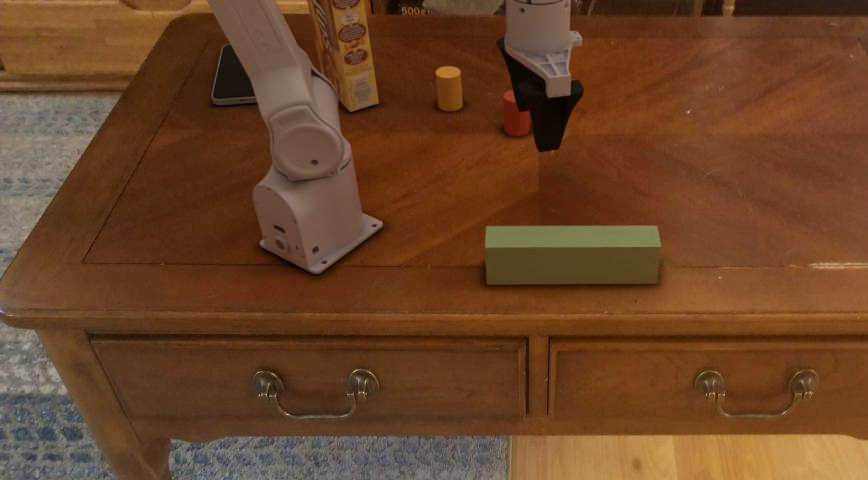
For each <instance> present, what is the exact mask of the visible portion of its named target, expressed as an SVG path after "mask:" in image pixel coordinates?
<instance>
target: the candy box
mask: <svg viewBox="0 0 868 480" xmlns="http://www.w3.org/2000/svg"><path fill="white" fill-rule="evenodd" d="M306 1H307V7H308V12H309V16H310V22H311V26H312V31H313V32H312V33H313V36H314V42H315V46H316V51H317V56H318V61H319V66H320V71H321V72H320V73H321V74H322V75H323V76H325V77H326V78H327V79H328V80H329V81H330V82H331V83H332V84H333V86H334V87H335V89H336V91H337V94H338V101H339V103H341V104H342V105H343V107H345V108H346V109H347V110H348V112H350V113H352V112H357V111H360V110H362V109H365V108H366V109H367V108H369V107H372V106H376V105H379V103H380V99H379V94H378V93H379V92H378V87H377V81H376V80H377V79H376V73H375V66H374V59H373V53H372V47H371V40H370V33H369V32H370V31H369V27H368V25H369V24H368V19H367V18H368V17H367V12H366V6H365V0H306Z"/></svg>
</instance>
